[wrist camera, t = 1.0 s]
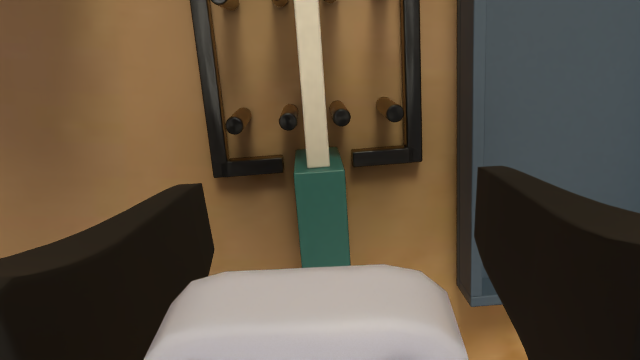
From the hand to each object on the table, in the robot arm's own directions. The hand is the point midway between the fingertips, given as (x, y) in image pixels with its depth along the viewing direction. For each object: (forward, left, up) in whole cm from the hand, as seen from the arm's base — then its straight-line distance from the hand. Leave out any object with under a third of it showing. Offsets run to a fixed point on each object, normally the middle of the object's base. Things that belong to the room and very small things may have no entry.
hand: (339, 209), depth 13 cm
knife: (0, 0, -13) cm, 13 cm away
